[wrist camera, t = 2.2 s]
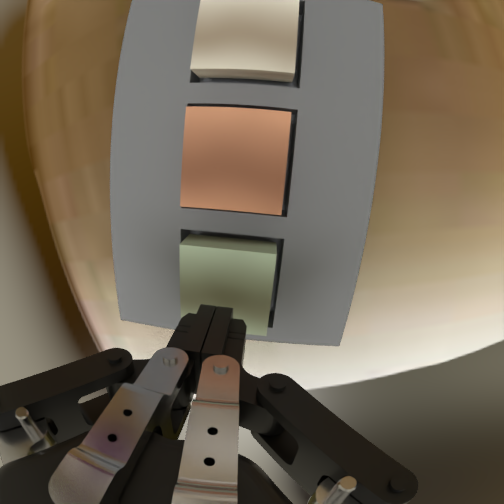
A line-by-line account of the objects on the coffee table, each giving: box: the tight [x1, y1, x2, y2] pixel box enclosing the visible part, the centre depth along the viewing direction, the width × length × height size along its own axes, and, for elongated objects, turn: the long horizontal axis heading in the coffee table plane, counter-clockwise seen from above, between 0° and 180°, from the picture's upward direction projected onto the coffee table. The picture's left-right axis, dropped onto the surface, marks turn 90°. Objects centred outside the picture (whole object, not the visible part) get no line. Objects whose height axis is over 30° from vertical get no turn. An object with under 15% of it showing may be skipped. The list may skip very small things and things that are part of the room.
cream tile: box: [190, 0, 299, 83], centre depth 12 cm, size 5×5×2 cm
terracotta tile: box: [180, 106, 291, 215], centre depth 14 cm, size 5×5×2 cm
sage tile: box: [180, 234, 277, 336], centre depth 17 cm, size 5×5×2 cm
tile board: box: [110, 0, 384, 346], centre depth 16 cm, size 22×15×3 cm
